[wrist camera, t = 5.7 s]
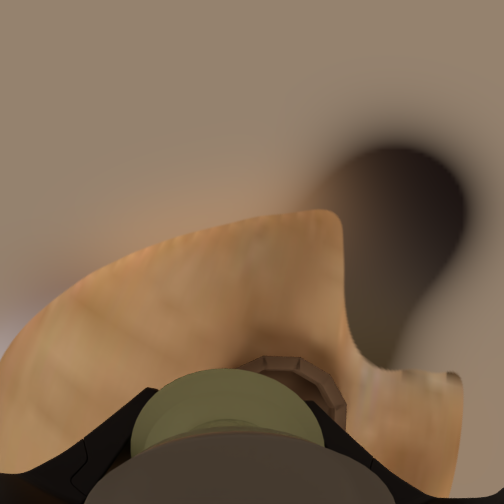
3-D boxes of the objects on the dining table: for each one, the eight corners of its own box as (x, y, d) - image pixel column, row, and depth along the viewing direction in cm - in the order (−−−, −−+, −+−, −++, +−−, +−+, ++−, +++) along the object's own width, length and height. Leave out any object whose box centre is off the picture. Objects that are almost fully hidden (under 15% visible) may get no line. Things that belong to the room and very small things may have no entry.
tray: (357, 395, 21) (369, 394, 19) (291, 497, 16) (298, 505, 14) (253, 334, 23) (257, 328, 21) (178, 436, 18) (174, 441, 16)
